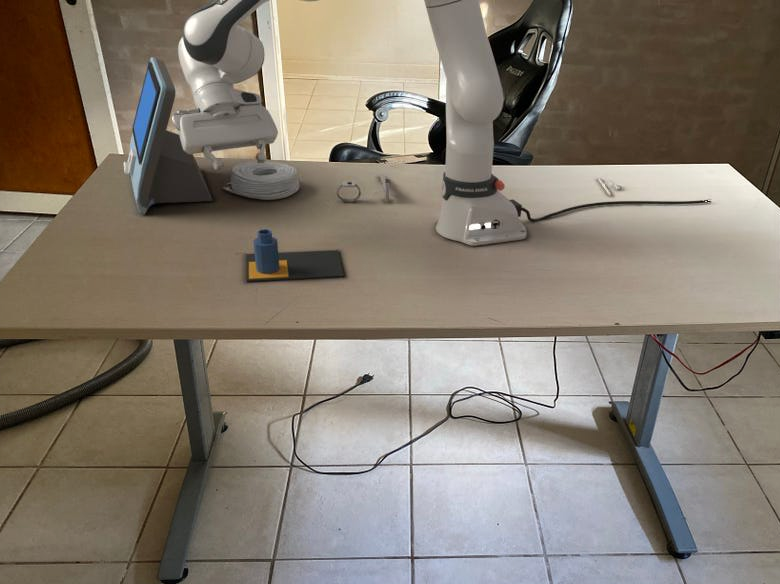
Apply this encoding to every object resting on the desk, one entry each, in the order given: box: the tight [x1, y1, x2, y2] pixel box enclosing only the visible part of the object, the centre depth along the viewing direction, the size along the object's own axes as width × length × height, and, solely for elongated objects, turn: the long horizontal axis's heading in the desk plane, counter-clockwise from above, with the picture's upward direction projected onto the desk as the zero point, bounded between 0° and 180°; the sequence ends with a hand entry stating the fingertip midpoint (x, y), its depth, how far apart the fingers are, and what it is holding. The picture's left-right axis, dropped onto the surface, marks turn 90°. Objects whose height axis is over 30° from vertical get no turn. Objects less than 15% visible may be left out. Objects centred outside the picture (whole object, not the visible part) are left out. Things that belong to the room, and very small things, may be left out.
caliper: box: [379, 173, 390, 203], centre depth 201 cm, size 20×1×6 cm, turn 10°
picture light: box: [598, 178, 621, 196], centre depth 215 cm, size 14×4×2 cm, turn 5°
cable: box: [222, 161, 300, 201], centre depth 195 cm, size 18×18×6 cm
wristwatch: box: [336, 181, 362, 203], centre depth 192 cm, size 6×3×5 cm, turn 102°
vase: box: [252, 228, 280, 274], centre depth 154 cm, size 5×5×8 cm
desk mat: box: [246, 249, 345, 283], centre depth 160 cm, size 20×13×1 cm, turn 104°
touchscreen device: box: [122, 56, 213, 215], centre depth 186 cm, size 35×20×30 cm, turn 23°
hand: (241, 165), depth 156 cm, fingers open, 8 cm apart
